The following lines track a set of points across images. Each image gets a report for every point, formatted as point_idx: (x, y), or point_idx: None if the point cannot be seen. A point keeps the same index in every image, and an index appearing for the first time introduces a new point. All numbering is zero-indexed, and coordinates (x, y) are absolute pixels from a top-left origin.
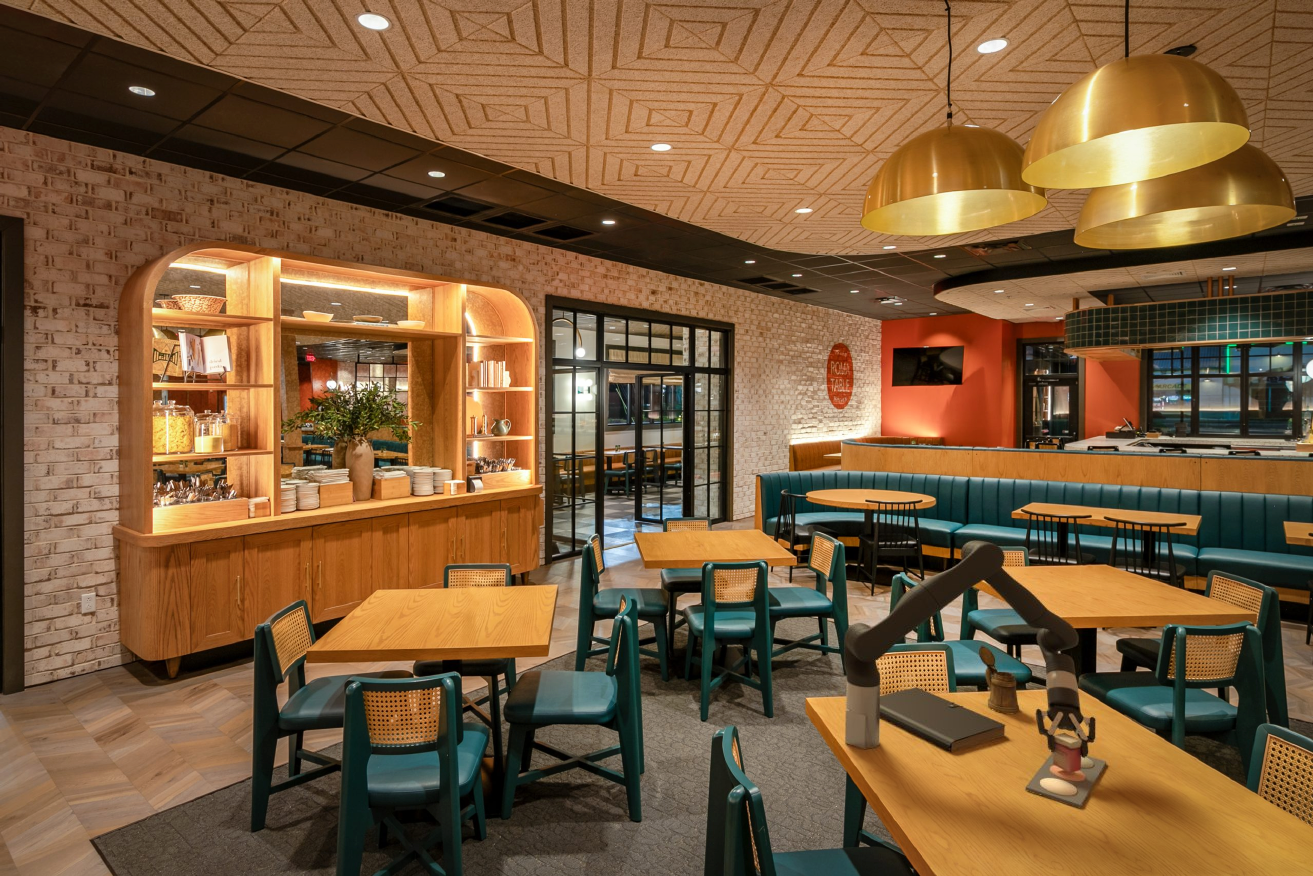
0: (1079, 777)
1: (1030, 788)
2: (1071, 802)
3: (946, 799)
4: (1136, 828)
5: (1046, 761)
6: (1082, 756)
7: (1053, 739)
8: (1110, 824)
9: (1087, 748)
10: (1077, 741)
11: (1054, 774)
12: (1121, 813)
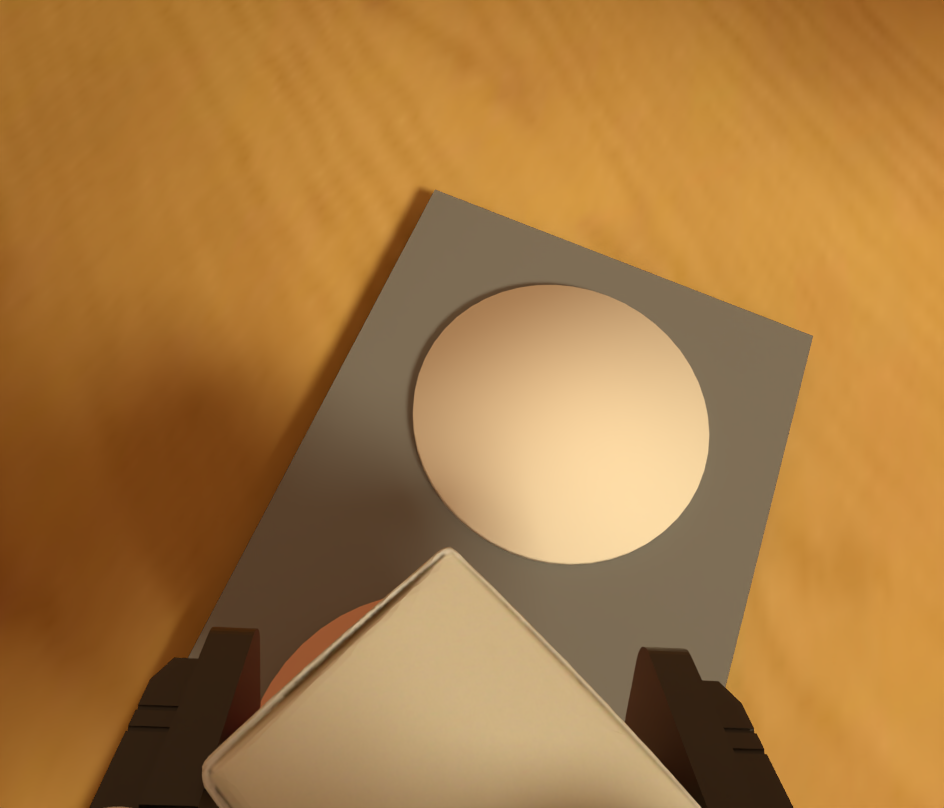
0: None
1: (777, 322)
2: (493, 214)
3: None
4: (124, 69)
5: None
6: (257, 674)
7: (702, 757)
8: (286, 72)
9: (139, 723)
10: (301, 691)
11: None
12: (144, 224)
